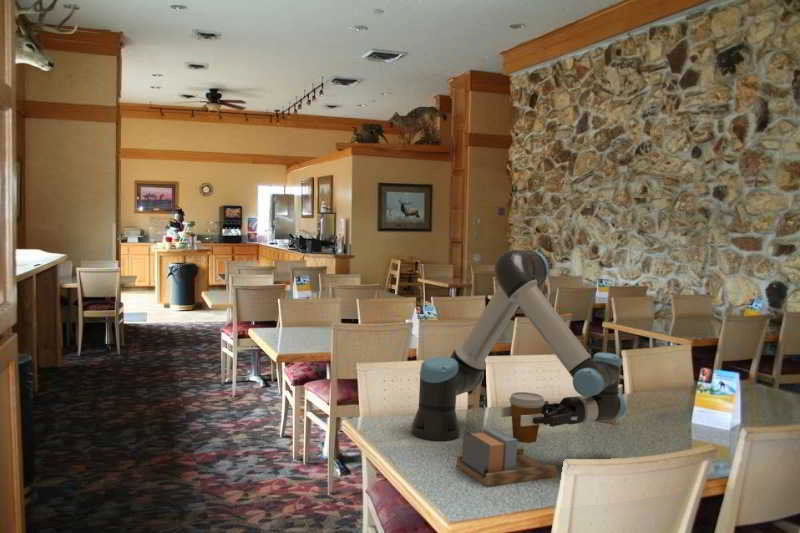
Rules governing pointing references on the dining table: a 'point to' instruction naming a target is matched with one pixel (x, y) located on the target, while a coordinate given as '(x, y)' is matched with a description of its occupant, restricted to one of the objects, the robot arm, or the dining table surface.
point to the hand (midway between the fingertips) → (511, 416)
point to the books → (499, 449)
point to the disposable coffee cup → (525, 406)
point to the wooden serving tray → (514, 471)
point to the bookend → (475, 454)
